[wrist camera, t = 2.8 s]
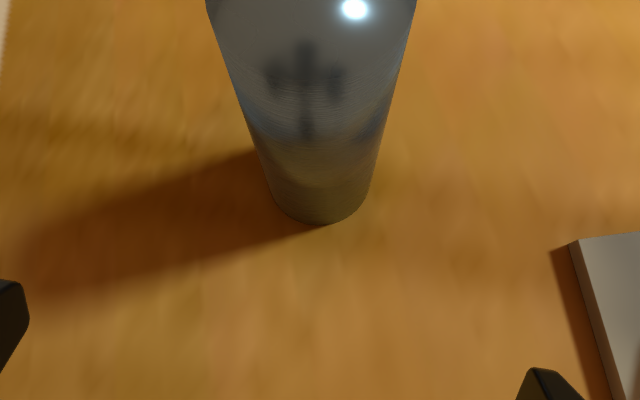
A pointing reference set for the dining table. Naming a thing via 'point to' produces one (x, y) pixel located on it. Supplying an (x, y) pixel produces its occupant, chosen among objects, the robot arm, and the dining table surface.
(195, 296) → the dining table surface
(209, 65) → the dining table surface
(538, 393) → the robot arm
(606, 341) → the jig
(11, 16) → the dining table surface
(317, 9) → the dark grey cylinder
